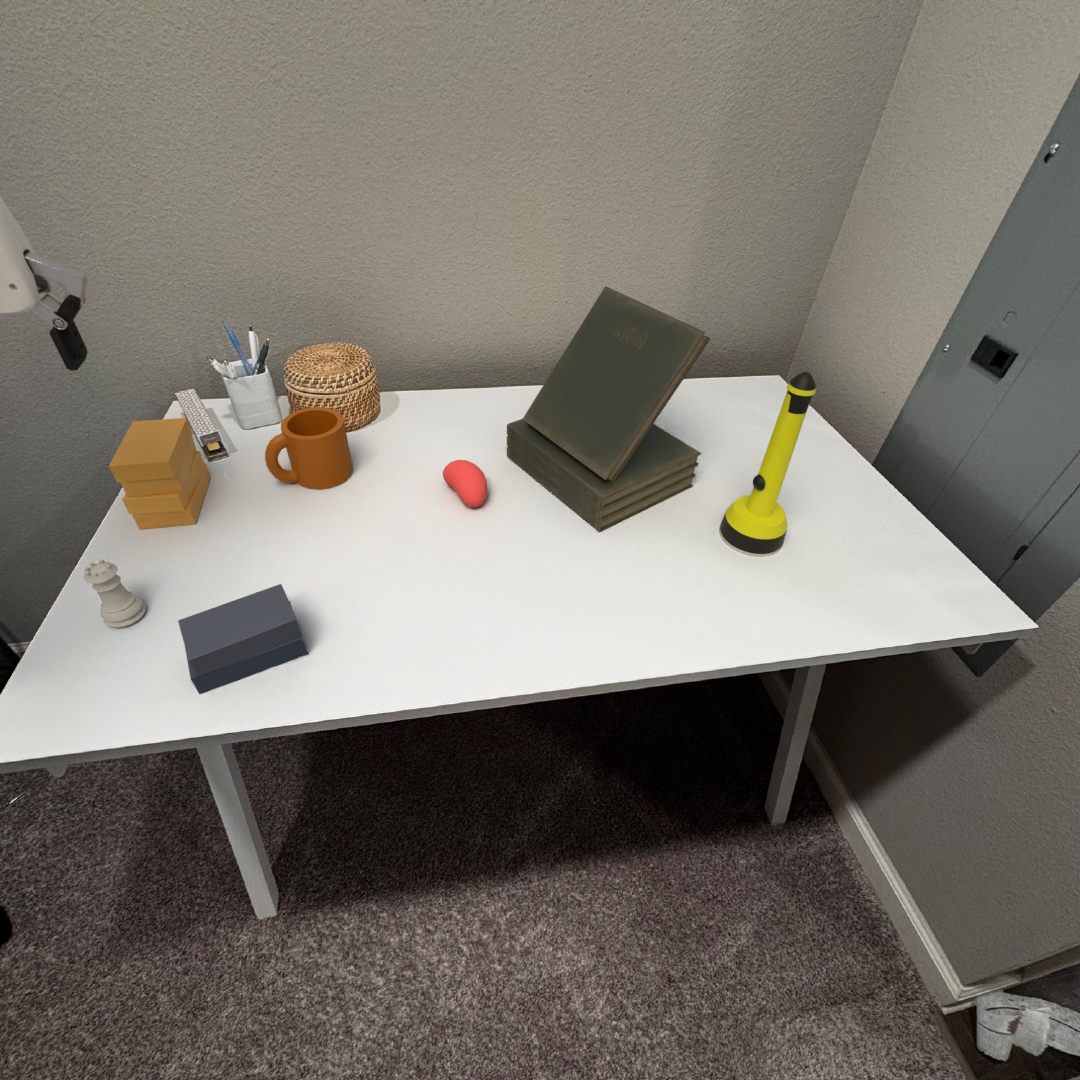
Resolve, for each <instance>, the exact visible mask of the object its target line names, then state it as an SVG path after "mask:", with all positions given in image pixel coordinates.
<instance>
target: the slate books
mask: <svg viewBox="0 0 1080 1080" xmlns="http://www.w3.org/2000/svg"><path fill="white" fill-rule="evenodd" d="M177 622H178V625H179V629H180V634H181V637H182V641H183V644H184V651H185V656H186V661H187V666H188V672H189V678H190V681H191V682H192V685H194V688H195V689H196V691H197V693H198V695H201V694H204V693H208V692H209V691H212V690H215V689H217V688H220V687H223V686H226V685H229V684H231V683H234V682H237V681H239V680H243V679H245V678H247V677H250V676H252V675H253V676H254V675H255V674H259V673H261V672H264V671H267V670H269V669H272V668H274V667H278V666H281V665H283V664H285V663H288V662H291V661H294V660H297V659H299V658H302V657H304V656H307V655H309V651H308V649H307V646H306V643H305V640H304V637H303V632H302V629H301V627H300V623H299V620H298V618H297V615H296V614H295V611H294V609H293V606H292V603H291V601H290V600H289V598H288V595H287V594H286V590H285V589H284V586H283V584H282V583H279V584H276V585H274V586H270V587H268V588H265V589H262V590H260V591H256V592H254V593H251V594H248V595H245V596H242V597H240V598H237V599H234V600H231V601H229V602H225V603H222V604H220V605H217V606H214V607H211V608H209V609H206V610H203V611H200V612H197V613H194V614H192V615H190V616H186V617H185V618H184V617H183V618H180V619H178V620H177Z"/></svg>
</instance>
